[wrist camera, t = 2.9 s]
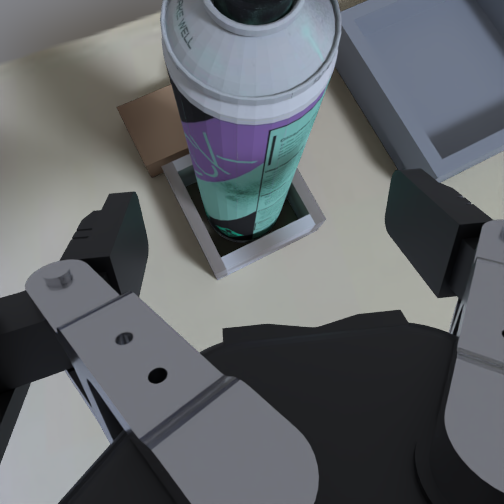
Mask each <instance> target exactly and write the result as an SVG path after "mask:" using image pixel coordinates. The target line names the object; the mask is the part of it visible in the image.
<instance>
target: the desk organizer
mask: <svg viewBox="0 0 504 504" xmlns="http://www.w3.org/2000/svg"><path fill="white" fill-rule="evenodd" d="M117 109H118V111H119V113H120V115H121V117H122V119H123V121H124V124H125V126H126V128H127V130H128V132H129V134H130V136H131V138H132V140H133V142H134V144H135V146H136V148H137V150H138V152H139V154H140V156H141V158H142V160H143V162H144V164H145V166H146V168H147V170H148V172H149V173H150V175H151V177H155V176H157V175H159V174H161V173H163V172H164V173H165V176H166V178H167V180H168V182H169V184H170V186H171V188H172V190H173V192H174V194H175V196H176V198H177V200H178V202H179V204H180V206H181V208H182V210H183V212H184V214H185V216H186V218H187V220H188V222H189V224H190V226H191V228H192V230H193V232H194V234H195V236H196V238H197V240H198V242H199V244H200V246H201V248H202V250H203V252H204V254H205V256H206V258H207V260H208V262H209V264H210V266H211V268H212V270H213V272H214V274H215V276H216V278H217V280H219V279H221V278H223V277H225V276H227V275H229V274H231V273H233V272H235V271H237V270H239V269H241V268H243V267H245V266H247V265H249V264H251V263H253V262H255V261H257V260H259V259H261V258H263V257H265V256H267V255H269V254H271V253H273V252H275V251H277V250H279V249H281V248H283V247H285V246H287V245H289V244H291V243H293V242H295V241H297V240H299V239H301V238H303V237H305V236H307V235H309V234H311V233H313V232H315V231H317V230H318V228H319V227H320V226H321V225H322V224H323V222H324V221H325V220H326V218H325V216H324V215H323V213H322V211H321V209H320V207H319V206H318V204H317V202H316V200H315V199H314V197H313V195H312V193H311V191H310V190H309V188H308V186H307V184H306V183H305V181H304V179H303V177H302V176H301V174H300V172H299V170H298V168H297V169H296V171H295V174H294V177H293V179H292V182H291V185H290V187H289V190H288V193H287V195H286V198H287V199H288V201H289V203H290V205H291V207H292V209H293V210H294V212H295V214H296V216H297V218H298V220H296V221H294V222H292V223H290V224H288V225H286V226H284V227H282V228H280V229H278V230H276V231H274V232H272V233H270V234H268V235H266V236H264V237H262V238H260V239H258V240H256V241H254V242H252V243H250V244H248V245H246V246H243V247H241V248H239V249H237V250H235V251H233V252H231V253H229V254H227V255H225V256H223V257H220V255H219V253H218V251H217V249H216V247H215V245H214V243H213V241H212V239H211V237H210V235H209V233H208V231H207V229H206V227H205V225H204V223H203V221H202V219H201V217H200V215H199V213H198V211H197V209H196V207H195V206H194V204H193V202H192V200H191V198H190V196H189V194H188V192H187V190H186V188H185V187H186V186H189V185H191V184H193V183H195V182H197V179H196V175H195V171H194V168H193V164H192V160H191V156H190V153H189V149H188V145H187V141H186V138H185V134H184V130H183V126H182V123H181V119H180V115H179V111H178V108H177V104H176V100H175V96H174V93H173V89H172V85H168V86H166V87H164V88H161V89H159V90H156V91H154V92H152V93H149V94H147V95H145V96H142V97H140V98H138V99H135V100H133V101H130V102H128V103H126V104H123V105H121V106H119V107H117Z"/></svg>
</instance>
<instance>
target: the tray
mask: <svg viewBox="0 0 504 504" xmlns="http://www.w3.org/2000/svg"><path fill="white" fill-rule="evenodd" d="M340 13H341V37H340V41H339V45H338V54H337V59H336V63H335V67H336V69H337V71H338V72H339V74H340V75H341V77H342V79H343V80H344V82H345V84H346V85H347V87H348V88H349V90H350V92H351V93H352V95H353V97H354V98H355V100H356V102H357V103H358V105H359V106H360V108H361V110H362V111H363V113H364V115H365V116H366V118H367V120H368V121H369V123H370V124H371V126H372V128H373V129H374V131H375V133H376V134H377V136H378V137H379V139H380V141H381V142H382V144H383V146H384V147H385V149H386V151H387V152H388V154H389V155H390V157H391V159H392V160H393V162H394V164H395V165H396V167H397V169H398V170H405V169H416V168H421V169H423V170H424V171H425V172H426V173H428V174H429V175H430V176H431V177H433V178H434V179H435V180H436V181H438V182H439V183H441V182H442V181H444V180H446V179H448V178H450V177H452V176H454V175H456V174H458V173H460V172H462V171H464V170H466V169H468V168H470V167H472V166H474V165H476V164H478V163H480V162H482V161H484V160H486V159H488V158H490V157H492V156H494V155H496V154H498V153H500V152H502V151H504V0H367V1H365V2H363V3H360V4H358V5H356V6H353V7H351V8H349V9H346V10H344V11H341V12H340Z"/></svg>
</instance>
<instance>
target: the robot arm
mask: <svg viewBox="0 0 504 504" xmlns="http://www.w3.org/2000/svg"><path fill="white" fill-rule="evenodd" d="M385 225H386V230H387V232H388V234H389V235H390V237H391V238H392V239H393V240H394V242H395V243H396V244H397V246H398V247H399V248H400V250H401V251H402V252H403V254H404V255H405V256H406V257H407V259H408V260H409V261H410V263H411V264H412V265H413V267H414V268H415V269H416V270H417V272H418V273H419V274H420V276H421V277H422V278H423V280H424V281H425V282H426V284H427V285H428V286H429V287H430V289H431V290H432V291H433V293H434V294H435V295H436V297H437V298H443V297H453V296H457V297H458V301H457V304H456V307H455V310H454V314H453V318H452V322H451V325H450V329H449V333H448V332H446V331H443V330H440V329H437V328H433V327H429V326H426V325H420V324H415V323H408V321H407V320H406V318H405V316H404V315H403V313H402V312H401V310H393V311H384V312H374V313H365V314H357V315H354V316H351V317H348V318H345V319H341V320H338V321H335V322H332V323H329V324H326V325H323V326H320V327H299V326H287V325H275V324H261V325H251V326H242V327H232V328H223V342H222V343H219V344H216V345H214V346H211V347H209V348H207V349H205V350H203V351H201V352H200V353H199V352H198V351H197V350H196V349H195V348H194V347H192V346H191V345H190V344H189V343H188V342H187V341H186V340H185V339H184V338H183V337H182V336H180V335H179V334H178V333H177V332H176V331H175V330H174V329H173V328H172V327H171V326H170V325H168V324H167V323H166V322H165V321H164V320H163V319H162V318H161V317H160V316H159V315H158V314H156V313H155V312H154V311H153V310H152V309H151V308H150V307H149V306H148V305H147V304H146V303H144V302H143V301H142V300H141V299H140V298H139V295H140V290H141V286H142V281H143V277H144V272H145V268H146V263H147V258H148V239H147V234H146V229H145V225H144V221H143V217H142V212H141V208H140V204H139V200H138V196H137V194H136V192H124V193H112V194H109V195H108V197H107V200H106V202H105V204H104V206H103V208H102V210H99V211H93V212H92V213H90V214H89V215H88V216H86V217H85V218H84V219H83V220H82V221H81V223H80V225H79V226H78V228H77V232H75V234H74V235H73V237H72V239H73V240H71V241H70V243H69V245H68V246H67V248H66V250H65V252H64V254H63V256H62V257H61V259H60V261H57V262H54V263H51V264H48V265H46V266H44V267H42V268H40V269H38V270H37V271H36V272H34V273H33V274H32V275H31V276H30V277H29V278H28V279H27V281H26V284H25V289H26V290H25V291H23V292H20V293H16V294H13V295H9V296H6V297H2V298H0V463H1V461H2V458H3V455H4V453H5V450H6V447H7V445H8V442H9V439H10V437H11V434H12V432H13V429H14V426H15V424H16V421H17V418H18V416H19V413H20V410H21V408H22V405H23V402H24V400H25V397H26V395H27V392H28V389H29V387H30V383H31V382H34V381H36V380H39V379H42V378H45V377H48V376H50V375H53V374H56V373H59V372H61V371H64V370H65V372H66V374H67V375H68V377H69V378H70V380H71V381H72V383H73V384H74V386H75V387H76V389H77V390H78V392H79V393H80V395H81V396H82V398H83V400H84V401H85V403H86V404H87V406H88V407H89V409H90V410H91V412H92V413H93V415H94V416H95V418H96V419H97V421H98V423H99V424H100V426H101V428H102V430H103V432H104V434H105V435H106V437H107V439H108V441H109V443H110V446H109V447H108V448H107V449H106V450H105V451H104V452H103V453H102V455H101V456H100V457H99V458H98V459H97V460H96V461H95V462H94V463H93V465H92V466H91V467H90V468H89V469H88V470H87V471H86V472H85V474H84V475H83V476H82V477H81V478H80V479H79V480H78V481H77V483H76V484H75V485H74V486H73V487H72V488H71V489H70V490H69V492H68V493H67V494H66V495H65V496H64V497H63V498H62V499H61V501H60V502H59V503H58V504H504V220H493V219H491V218H490V217H489V216H488V215H486V214H485V213H484V212H483V211H481V210H480V209H479V208H477V207H476V206H475V205H474V204H471V202H470V201H468V200H467V199H466V198H463V196H462V195H461V194H459V193H458V192H457V191H456V190H454V189H453V188H451V187H449V186H446V185H444V184H441V183H439V182H438V181H436V180H435V179H434V178H433V177H431V176H430V175H429V174H428V173H426V172H425V171H424V170H423V169H421V168H416V169H405V170H396V171H395V172H394V173H393V175H392V178H391V183H390V189H389V195H388V201H387V207H386V213H385Z"/></svg>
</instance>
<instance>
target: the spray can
mask: <svg viewBox="0 0 504 504" xmlns="http://www.w3.org/2000/svg"><path fill="white" fill-rule="evenodd" d="M160 22H161V31H162V47H163V55H164V59H165V63H166V66H167V70H168V74H169V78H170V81H171V85H172V89H173V93H174V96H175V100H176V104H177V108H178V111H179V115H180V119H181V123H182V126H183V130H184V134H185V138H186V141H187V145H188V149H189V153H190V156H191V160H192V164H193V168H194V171H195V175H196V179H197V183H198V186H199V190H200V194H201V198H202V201H203V205H204V209H205V213H206V216H207V218H208V221H209V223H210V224H211V226H212V228H213V229H214V230H215V231H216V232H217V233H218V234H219V235H221V236H222V237H224V238H226V239H228V240H230V241H234V242H243V243H245V242H252V241H255V240H258V239H260V238H261V237H263V236H265V235H266V234H267V233H268V232H269V231H270V230H271V229H272V228H273V226H274V225H275V223H276V221H277V219H278V217H279V214H280V211H281V209H282V206H283V203H284V201H285V198H286V195H287V193H288V190H289V187H290V185H291V182H292V179H293V177H294V174H295V171H296V169H297V166H298V163H299V161H300V158H301V155H302V153H303V150H304V147H305V145H306V142H307V139H308V137H309V134H310V131H311V129H312V126H313V123H314V121H315V118H316V115H317V113H318V110H319V107H320V105H321V102H322V99H323V97H324V94H325V91H326V89H327V86H328V83H329V81H330V78H331V75H332V73H333V70H334V67H335V63H336V59H337V54H338V45H339V41H340V37H341V13H340V9H339V4H338V1H337V0H163V2H162V9H161V16H160Z"/></svg>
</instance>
